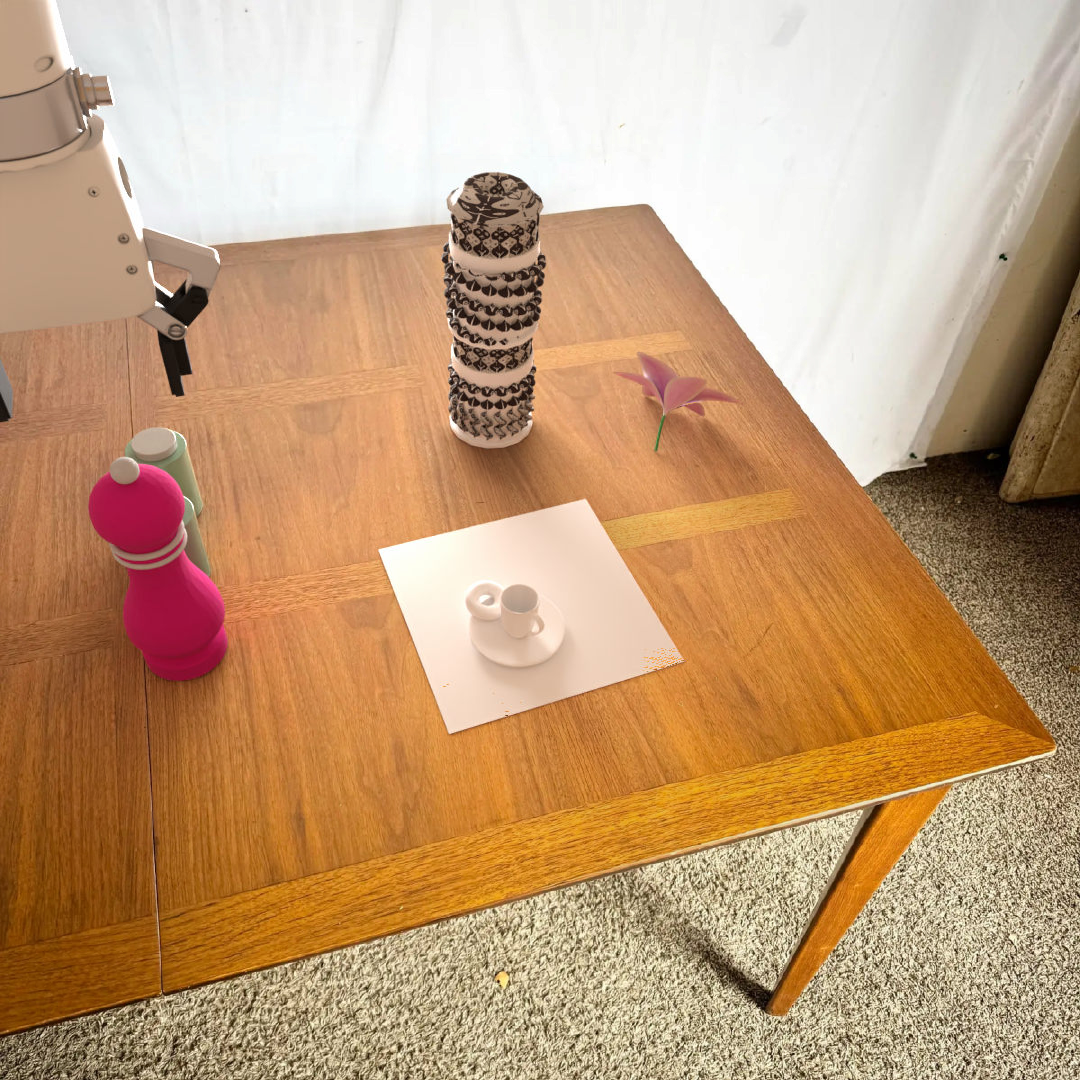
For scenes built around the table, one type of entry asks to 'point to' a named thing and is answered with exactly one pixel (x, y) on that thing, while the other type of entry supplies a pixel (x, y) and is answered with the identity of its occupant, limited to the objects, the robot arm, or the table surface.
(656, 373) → the lily
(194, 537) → the shaker mid
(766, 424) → the table surface
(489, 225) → the patterned beaded cylinder
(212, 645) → the pepper mill
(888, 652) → the table surface
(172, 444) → the shaker far
